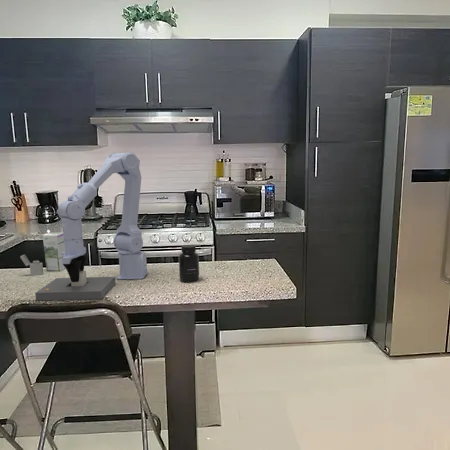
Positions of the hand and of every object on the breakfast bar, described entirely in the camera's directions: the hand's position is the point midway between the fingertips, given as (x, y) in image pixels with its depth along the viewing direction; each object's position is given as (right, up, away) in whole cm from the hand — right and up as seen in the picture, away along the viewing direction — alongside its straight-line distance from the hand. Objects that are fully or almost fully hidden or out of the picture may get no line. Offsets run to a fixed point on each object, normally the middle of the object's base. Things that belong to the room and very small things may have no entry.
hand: (77, 280), depth 126 cm
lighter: (-25, -1, +22) cm, 33 cm away
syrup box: (-19, 0, +29) cm, 34 cm away
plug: (+1, -3, +1) cm, 3 cm away
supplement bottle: (+35, -2, +10) cm, 37 cm away
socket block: (0, -4, +1) cm, 4 cm away
